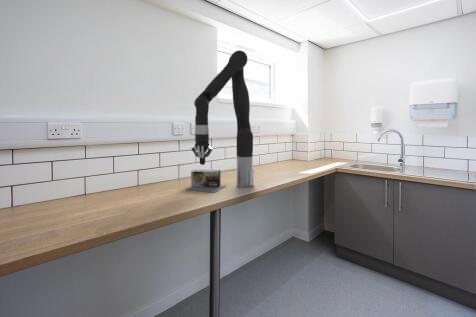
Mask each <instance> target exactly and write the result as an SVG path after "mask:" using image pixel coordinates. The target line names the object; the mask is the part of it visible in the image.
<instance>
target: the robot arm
mask: <svg viewBox="0 0 476 317" xmlns="http://www.w3.org/2000/svg"><path fill="white" fill-rule="evenodd" d="M247 63H248V55H247V53H246V52H245V51H243V50H236V51H234V52H233V53H231V55H230V57H229V59H228V62H227V64H226V65H225V66H224V67H223V68H222V70H221V71H219V73H218V74H217V75H216V76H215V77H213V79H212V80H211V81H210V82H209V83H208V85H207V86H206V87H205V89H204V90H203V91H202V92H201V93H200V94H199V95H198V96H197V97H196V98H195V100H194V102H193V104H194V107H195V117H194V120H195V121H194V122H195V123H194V124H195V126H194V142H195V144H194V146H193V147H191V151H192V152H193V154H194V155H195V157H196V158H199V164H200V166H203V165H205V164H206V158H209V156H210V155H211V153H212V152H213V150H214V148H213V147H211V145H210V143H209V142H210V137H209V136H210V129H209V107H210V103H211V102H212V100H214V98H216V97H217V96H218V95H219V93H220V92H221V91H222V90H223V89H224V87H225V86H226V85H227V84H228V82H229V81H230V79H231V90H232V91H231V92H232V102H233V109H234V115H235V118H236V186H237V187H241V188H248V187H249V188H251V187H252V186H254V171H255V170H254V168H253V164H254V163H253V158H254V157H253V153H254V135H253V132H252V130H251V123H250V109H251V108H250V104H251V103H250V94H249V90H248V87H247V84H246V81H245V80H246V79H245V76H244V75H245V73H244V70H245V69H244V68H245V66H246V65H247Z"/></svg>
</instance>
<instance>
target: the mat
mask: <svg viewBox="0 0 476 317" xmlns="http://www.w3.org/2000/svg"><path fill="white" fill-rule="evenodd" d="M224 188H227V187H226V185H220V186H219V187H191V186H190V187H188V188H186V189H185V190H186V191H196V192H204V193H216V192H219V191H220V190H222V189H224Z"/></svg>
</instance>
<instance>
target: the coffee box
mask: <svg viewBox="0 0 476 317" xmlns="http://www.w3.org/2000/svg"><path fill="white" fill-rule="evenodd" d="M190 182H191V183H190V184H191V186H190V187H219V186H222V185H221V169H192V170H191V171H190Z"/></svg>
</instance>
